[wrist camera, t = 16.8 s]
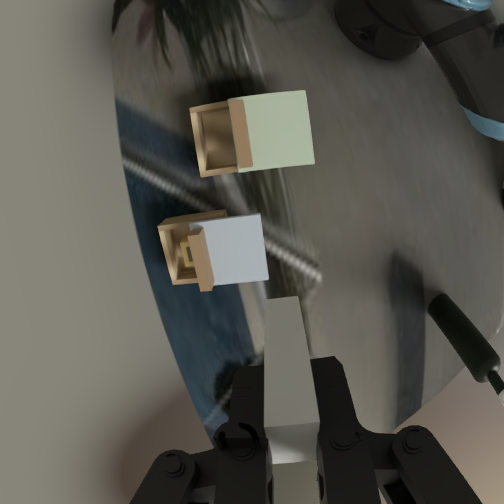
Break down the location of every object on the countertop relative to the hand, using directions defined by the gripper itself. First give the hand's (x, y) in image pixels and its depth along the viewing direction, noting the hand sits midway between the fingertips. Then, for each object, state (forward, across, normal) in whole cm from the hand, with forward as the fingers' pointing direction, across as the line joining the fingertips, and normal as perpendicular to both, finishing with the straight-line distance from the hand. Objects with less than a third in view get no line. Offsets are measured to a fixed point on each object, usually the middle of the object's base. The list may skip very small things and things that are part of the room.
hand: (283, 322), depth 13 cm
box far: (+32, -12, -7) cm, 35 cm away
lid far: (+27, -7, -7) cm, 29 cm away
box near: (+32, -4, +9) cm, 34 cm away
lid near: (+27, +1, +9) cm, 29 cm away
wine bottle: (+33, +34, -27) cm, 54 cm away
